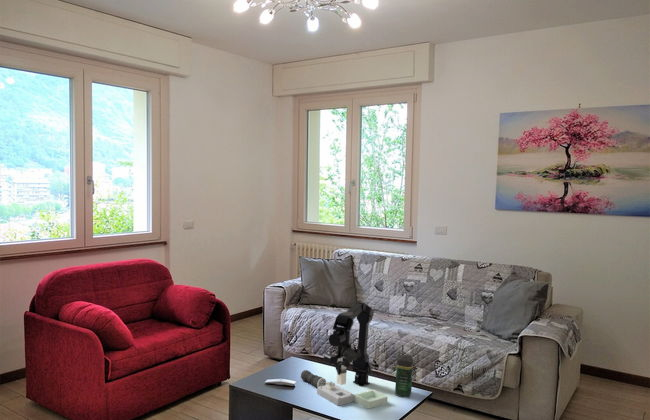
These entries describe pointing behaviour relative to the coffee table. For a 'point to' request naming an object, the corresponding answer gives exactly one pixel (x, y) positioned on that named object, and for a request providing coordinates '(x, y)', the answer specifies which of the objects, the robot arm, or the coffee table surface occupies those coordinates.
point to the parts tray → (370, 399)
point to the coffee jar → (404, 376)
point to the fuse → (330, 385)
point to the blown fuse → (342, 376)
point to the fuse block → (336, 395)
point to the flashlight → (313, 378)
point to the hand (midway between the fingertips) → (341, 374)
